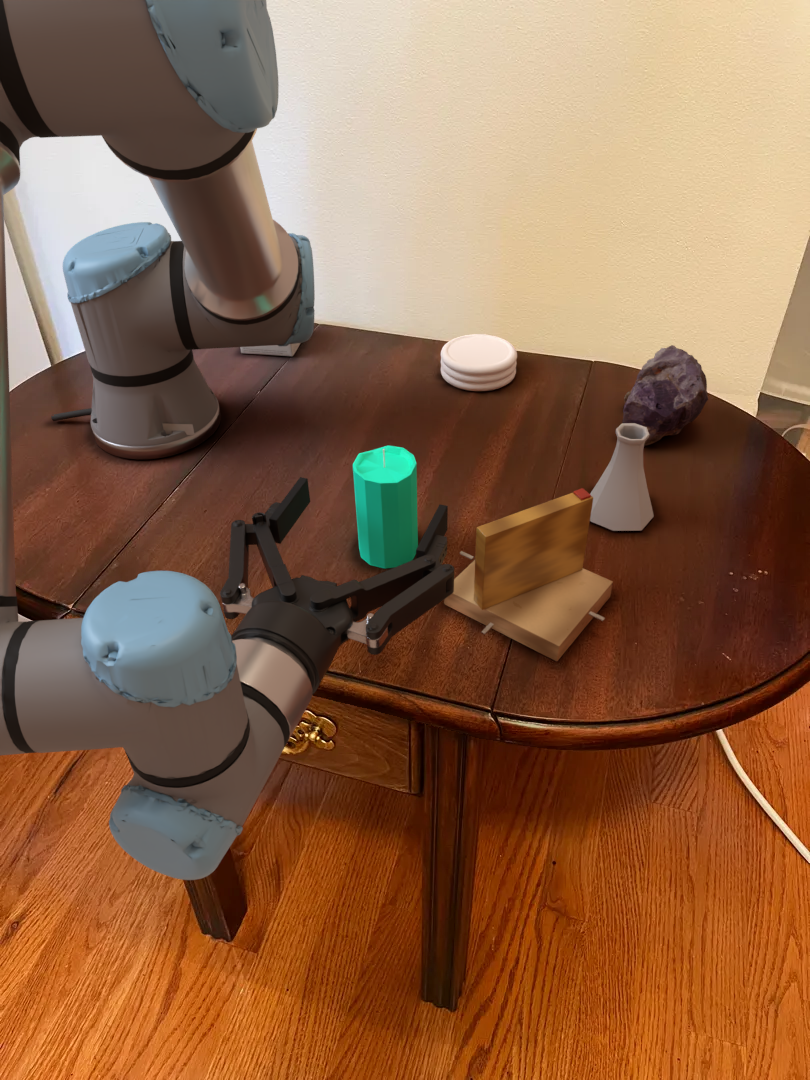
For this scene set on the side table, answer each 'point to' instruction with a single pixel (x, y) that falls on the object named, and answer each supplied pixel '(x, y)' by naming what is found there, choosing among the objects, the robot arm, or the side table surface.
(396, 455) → the candle
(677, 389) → the rock
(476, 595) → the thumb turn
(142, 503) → the side table surface
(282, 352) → the small box
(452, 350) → the coaster
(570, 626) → the plate
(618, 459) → the flask
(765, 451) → the side table surface
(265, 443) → the side table surface
